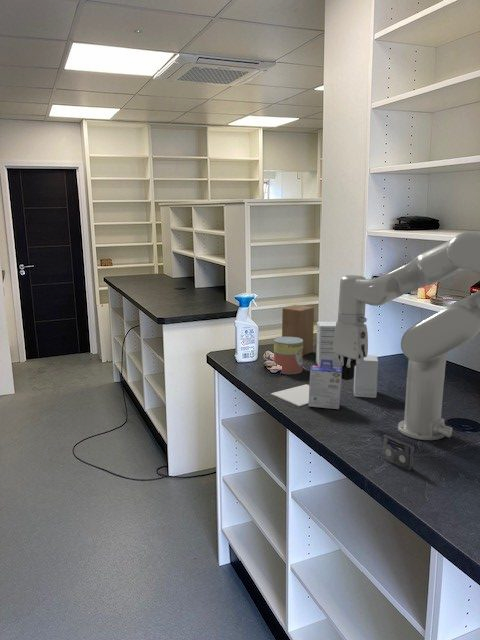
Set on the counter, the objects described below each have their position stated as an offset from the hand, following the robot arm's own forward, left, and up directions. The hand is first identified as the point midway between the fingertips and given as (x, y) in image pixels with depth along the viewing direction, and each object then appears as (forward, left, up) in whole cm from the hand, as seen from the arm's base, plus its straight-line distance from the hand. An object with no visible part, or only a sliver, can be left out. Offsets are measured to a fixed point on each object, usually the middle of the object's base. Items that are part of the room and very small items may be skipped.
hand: (347, 378), depth 153 cm
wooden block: (+62, -36, -12) cm, 73 cm away
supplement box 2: (+9, -19, -12) cm, 24 cm away
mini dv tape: (-29, +13, -12) cm, 33 cm away
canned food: (+45, -16, -12) cm, 50 cm away
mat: (+20, -1, -11) cm, 23 cm away
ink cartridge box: (+9, 0, -11) cm, 15 cm away
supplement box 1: (+41, -34, -12) cm, 55 cm away
